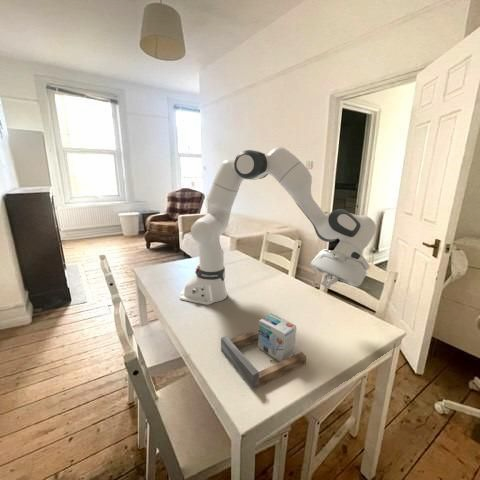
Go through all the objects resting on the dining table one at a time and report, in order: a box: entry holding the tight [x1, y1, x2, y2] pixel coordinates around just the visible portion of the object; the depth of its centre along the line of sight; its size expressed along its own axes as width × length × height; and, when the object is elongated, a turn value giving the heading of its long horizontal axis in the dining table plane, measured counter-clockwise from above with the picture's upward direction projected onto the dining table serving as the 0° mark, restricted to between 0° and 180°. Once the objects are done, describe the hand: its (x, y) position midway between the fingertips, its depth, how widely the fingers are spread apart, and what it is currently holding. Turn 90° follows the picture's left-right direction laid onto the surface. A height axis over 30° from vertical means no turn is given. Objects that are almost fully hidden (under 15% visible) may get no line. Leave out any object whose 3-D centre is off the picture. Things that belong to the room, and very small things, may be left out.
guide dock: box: [220, 328, 307, 391], centre depth 86 cm, size 20×19×5 cm
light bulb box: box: [257, 312, 297, 362], centre depth 88 cm, size 11×7×11 cm, turn 45°
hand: (324, 285), depth 95 cm, fingers closed
